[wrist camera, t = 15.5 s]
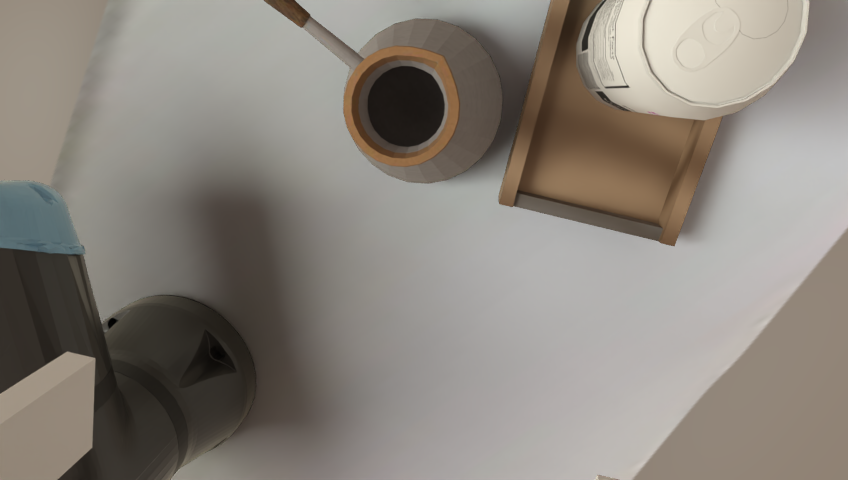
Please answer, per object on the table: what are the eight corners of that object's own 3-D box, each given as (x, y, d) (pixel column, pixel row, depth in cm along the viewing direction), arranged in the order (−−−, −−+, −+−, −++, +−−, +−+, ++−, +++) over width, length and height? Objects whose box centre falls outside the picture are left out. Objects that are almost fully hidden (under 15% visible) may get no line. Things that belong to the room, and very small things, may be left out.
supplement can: (642, -40, 36) (743, -126, 22) (720, 51, 37) (865, 26, 23) (549, 50, 39) (586, 25, 24) (625, 134, 40) (704, 158, 25)
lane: (661, 235, 42) (700, 267, 34) (498, 196, 43) (500, 219, 35) (786, -109, 35) (868, -164, 28) (590, -149, 36) (618, -215, 28)
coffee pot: (534, 95, 41) (559, 96, 26) (433, 207, 44) (407, 263, 29) (314, -107, 39) (211, -225, 24) (225, 25, 42) (88, -11, 27)
